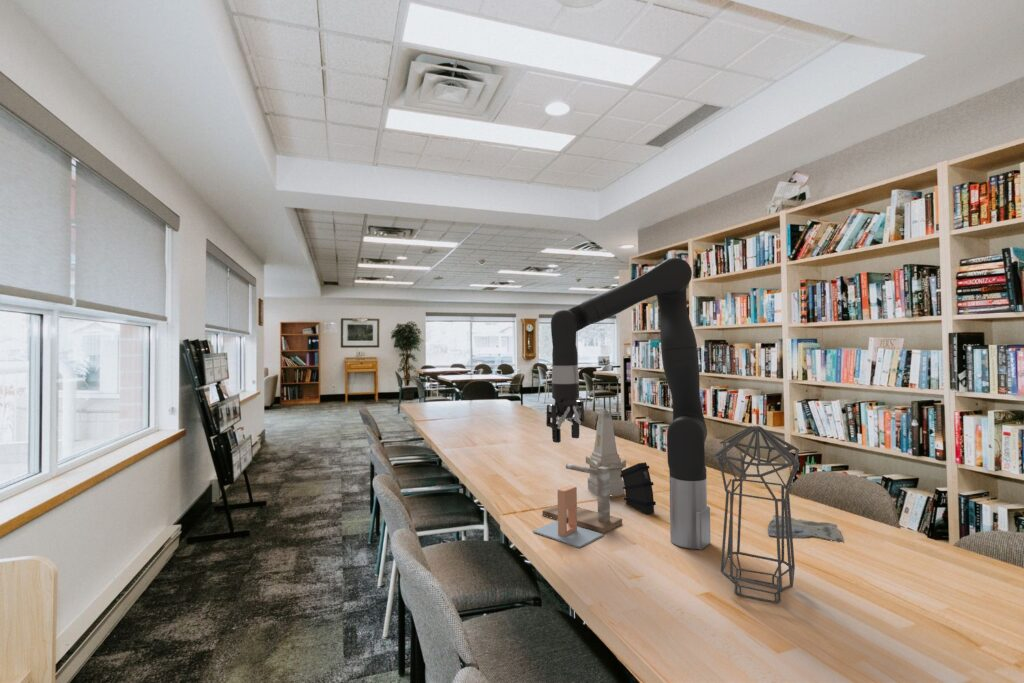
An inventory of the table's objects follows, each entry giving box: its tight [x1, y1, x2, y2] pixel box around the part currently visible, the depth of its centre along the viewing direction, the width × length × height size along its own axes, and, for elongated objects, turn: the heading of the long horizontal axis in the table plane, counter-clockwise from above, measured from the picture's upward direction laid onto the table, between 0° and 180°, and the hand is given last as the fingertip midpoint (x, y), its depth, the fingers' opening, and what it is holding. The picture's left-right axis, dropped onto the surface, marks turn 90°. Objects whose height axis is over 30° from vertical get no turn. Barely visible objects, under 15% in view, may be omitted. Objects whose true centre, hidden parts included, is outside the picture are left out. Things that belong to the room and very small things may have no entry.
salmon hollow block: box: [557, 484, 578, 536], centre depth 135 cm, size 2×6×12 cm, turn 137°
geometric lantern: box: [712, 425, 801, 604], centre depth 102 cm, size 16×16×35 cm
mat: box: [532, 520, 604, 549], centre depth 135 cm, size 16×11×1 cm
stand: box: [541, 463, 623, 534], centre depth 146 cm, size 22×10×17 cm, turn 46°
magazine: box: [620, 461, 657, 515], centre depth 156 cm, size 4×13×15 cm, turn 23°
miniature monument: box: [585, 407, 627, 496], centre depth 174 cm, size 10×10×30 cm
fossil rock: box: [767, 514, 844, 543], centre depth 135 cm, size 18×15×2 cm
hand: (566, 440), depth 135 cm, fingers open, 8 cm apart
